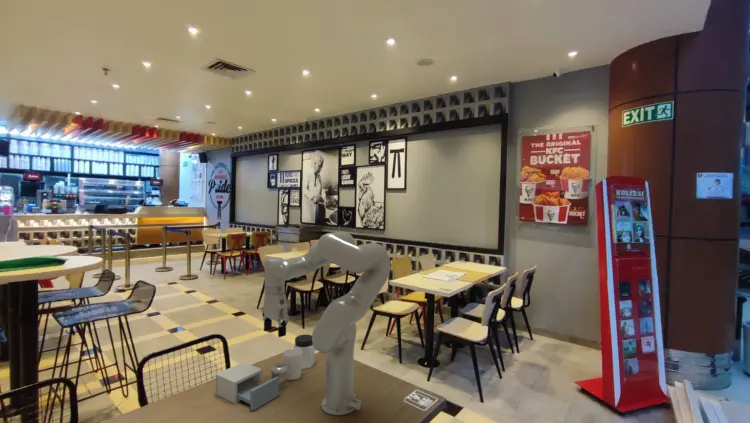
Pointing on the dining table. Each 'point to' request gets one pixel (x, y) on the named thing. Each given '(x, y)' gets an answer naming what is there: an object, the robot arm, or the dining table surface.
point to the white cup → (293, 362)
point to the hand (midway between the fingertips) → (274, 333)
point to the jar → (306, 350)
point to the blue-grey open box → (259, 393)
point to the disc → (279, 369)
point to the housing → (236, 380)
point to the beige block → (281, 380)
